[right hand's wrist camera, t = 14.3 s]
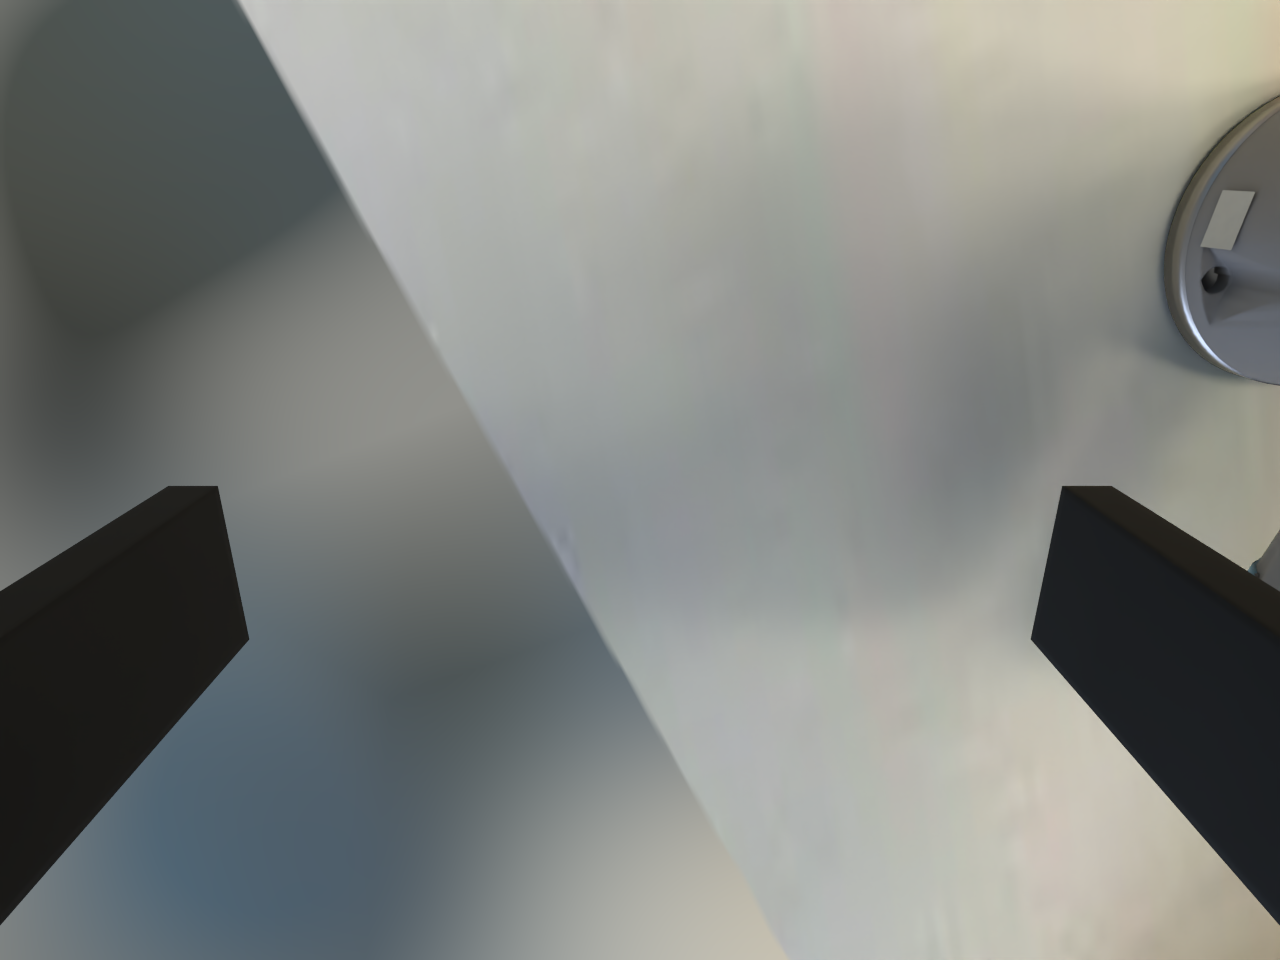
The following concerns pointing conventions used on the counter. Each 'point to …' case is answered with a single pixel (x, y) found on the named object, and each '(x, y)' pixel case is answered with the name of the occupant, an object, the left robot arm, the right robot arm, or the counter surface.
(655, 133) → the counter surface
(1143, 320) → the counter surface
